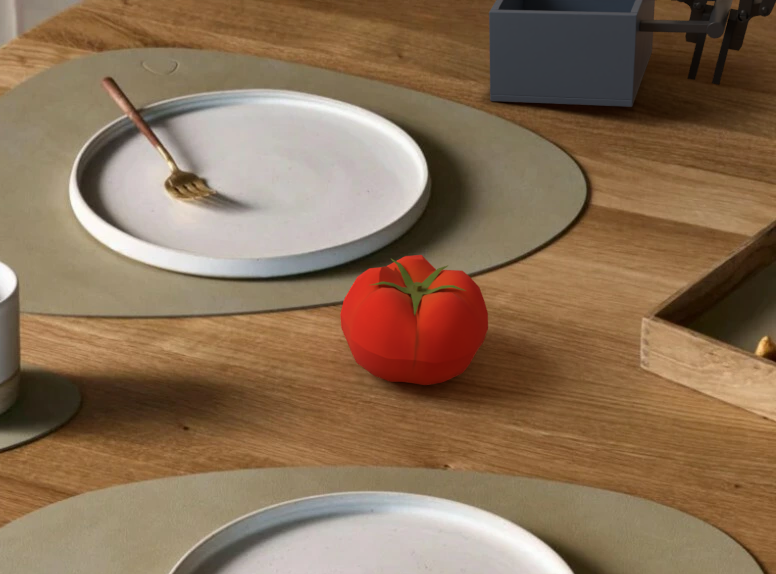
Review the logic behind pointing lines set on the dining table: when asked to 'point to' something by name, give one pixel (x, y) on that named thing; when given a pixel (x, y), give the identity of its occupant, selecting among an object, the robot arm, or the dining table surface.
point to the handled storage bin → (579, 48)
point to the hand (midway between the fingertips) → (704, 75)
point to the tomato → (414, 321)
